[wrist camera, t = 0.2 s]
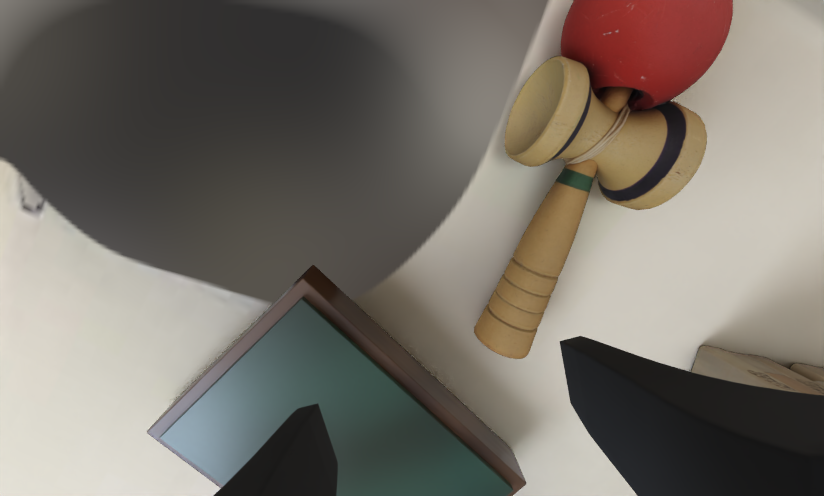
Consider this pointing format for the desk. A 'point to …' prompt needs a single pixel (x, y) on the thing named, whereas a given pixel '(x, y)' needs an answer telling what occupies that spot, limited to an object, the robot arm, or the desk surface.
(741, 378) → the block tower
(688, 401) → the robot arm
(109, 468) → the desk surface
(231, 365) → the green topped wooden block
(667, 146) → the kendama
